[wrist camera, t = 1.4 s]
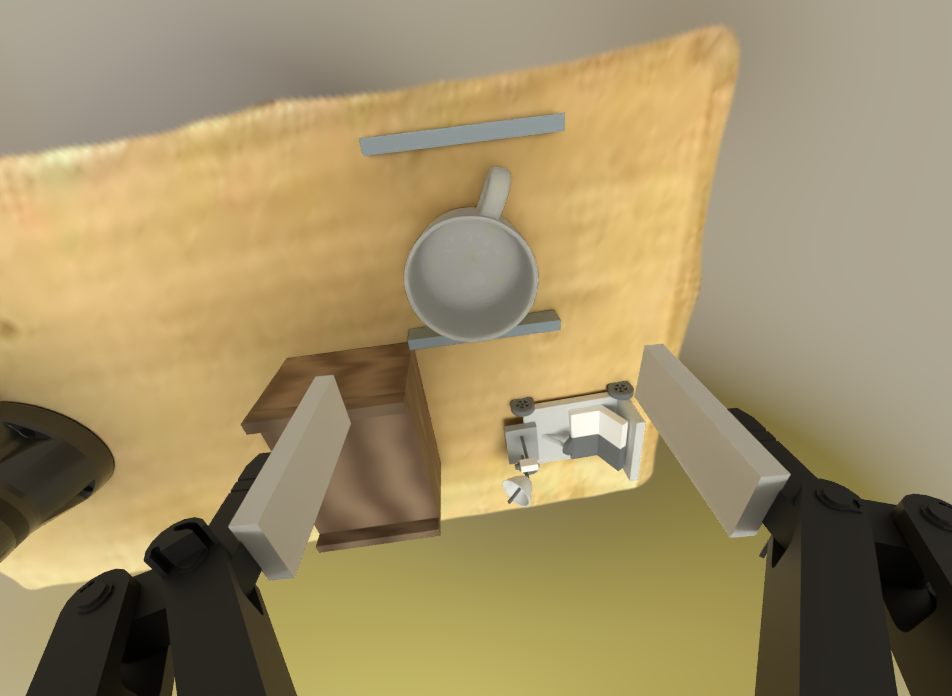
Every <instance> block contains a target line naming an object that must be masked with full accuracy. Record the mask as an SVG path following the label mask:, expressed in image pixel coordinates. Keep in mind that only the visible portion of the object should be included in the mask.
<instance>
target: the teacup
mask: <svg viewBox="0 0 952 696" xmlns="http://www.w3.org/2000/svg"><path fill="white" fill-rule="evenodd" d="M510 183H511V174H510V172H509V171H508V170H507V169H505V168H503V167H499V166H495V167H492V168H491V169H490V170H489V172H488V175H487V177H486V180H485V183H484V186H483V189H482V192H481V196H480V199H479V202H478V204H477V206H476V207H464V208H458V209H454V210H451V211H448V212H446V213H444V214H442V215H441V216H439V217H438V218H436V219H435V220H434V221H433V222H431V223H430V224H429V225H428V226H427V228H426V229H425V230H424V231H423V233H422V234H421V236H420V237H419V238H418V239H417V241H416V242H415V244H414V245H413V247H412V249H411V251H410V253H409V255H408V258H407V261H406V264H405V270H404V285H405V292H406V295H407V298H408V301H409V303H410V305H411V307H412V309H413V311H414V312H415V314H416V315H417V316H418V318H419V319H420V320H421V321H422V322H423V323H424V324H425V325H427V326H428V327H429V328H430V329H432V330H433V331H435V332H437V333H438V334H440V335H442V336H445V337H447V338H449V339H452V340H457V341H462V342H483V341H487V340H491V339H494V338H497V337H500V336H501V335H503V334H505V333H507V332H509V331H510V330H512V329H513V328H514V327H516V326H517V325H518V324H519V323H520V322H521V321H522V320H523V319H524V318H525V316H526V315H527V314H528V312H529V310H530V309H531V307H532V305H533V303H534V301H535V297H536V295H537V289H538V283H539V282H538V279H539V274H538V267H537V264H536V260H535V257H534V254H533V252H532V250H531V248H530V247H529V245H528V244H527V242H526V241H525V239H524V238H523V237H522V236H521V235H520V234H519V232H518V231H517V230H516V229H515V227H514V226H513V225H512V224H511V223H510V222H509V221H507V220H506V219H505V218H503V217H502V216H501V214H502V211H503V208H504V206H505V203H506V200H507V197H508V193H509V189H510Z"/></svg>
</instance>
